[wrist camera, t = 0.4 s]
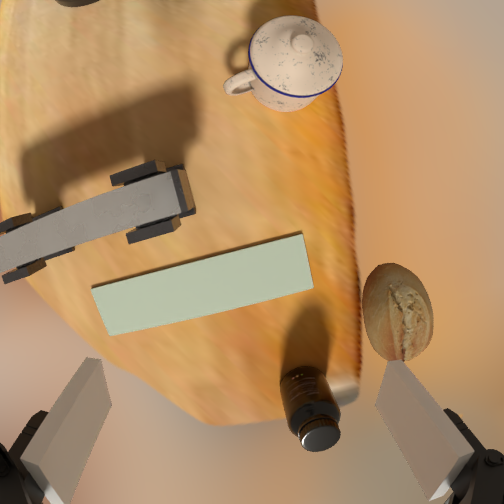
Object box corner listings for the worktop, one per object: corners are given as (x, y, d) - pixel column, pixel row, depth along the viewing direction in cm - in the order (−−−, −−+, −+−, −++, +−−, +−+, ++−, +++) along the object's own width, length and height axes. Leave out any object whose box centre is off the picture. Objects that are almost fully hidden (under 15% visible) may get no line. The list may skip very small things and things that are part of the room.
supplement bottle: (331, 389, 44) (354, 443, 32) (289, 407, 44) (303, 464, 33) (316, 356, 42) (340, 411, 31) (271, 376, 43) (283, 435, 31)
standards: (29, 218, 36) (-17, 231, 26) (182, 162, 35) (163, 157, 26) (43, 262, 37) (0, 285, 27) (196, 214, 37) (183, 228, 27)
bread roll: (372, 362, 43) (393, 393, 36) (339, 280, 40) (362, 304, 32) (424, 331, 43) (452, 356, 35) (400, 247, 40) (432, 262, 32)
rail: (-3, 240, 29) (-26, 249, 25) (185, 170, 29) (177, 169, 25) (6, 268, 30) (-16, 279, 26) (195, 205, 30) (188, 210, 25)
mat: (91, 288, 38) (90, 289, 38) (301, 233, 38) (302, 234, 38) (110, 334, 40) (109, 336, 40) (312, 286, 40) (313, 287, 39)
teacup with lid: (301, 38, 33) (325, -7, 21) (332, 100, 35) (370, 73, 23) (210, 69, 33) (201, 28, 22) (241, 135, 35) (244, 116, 24)
